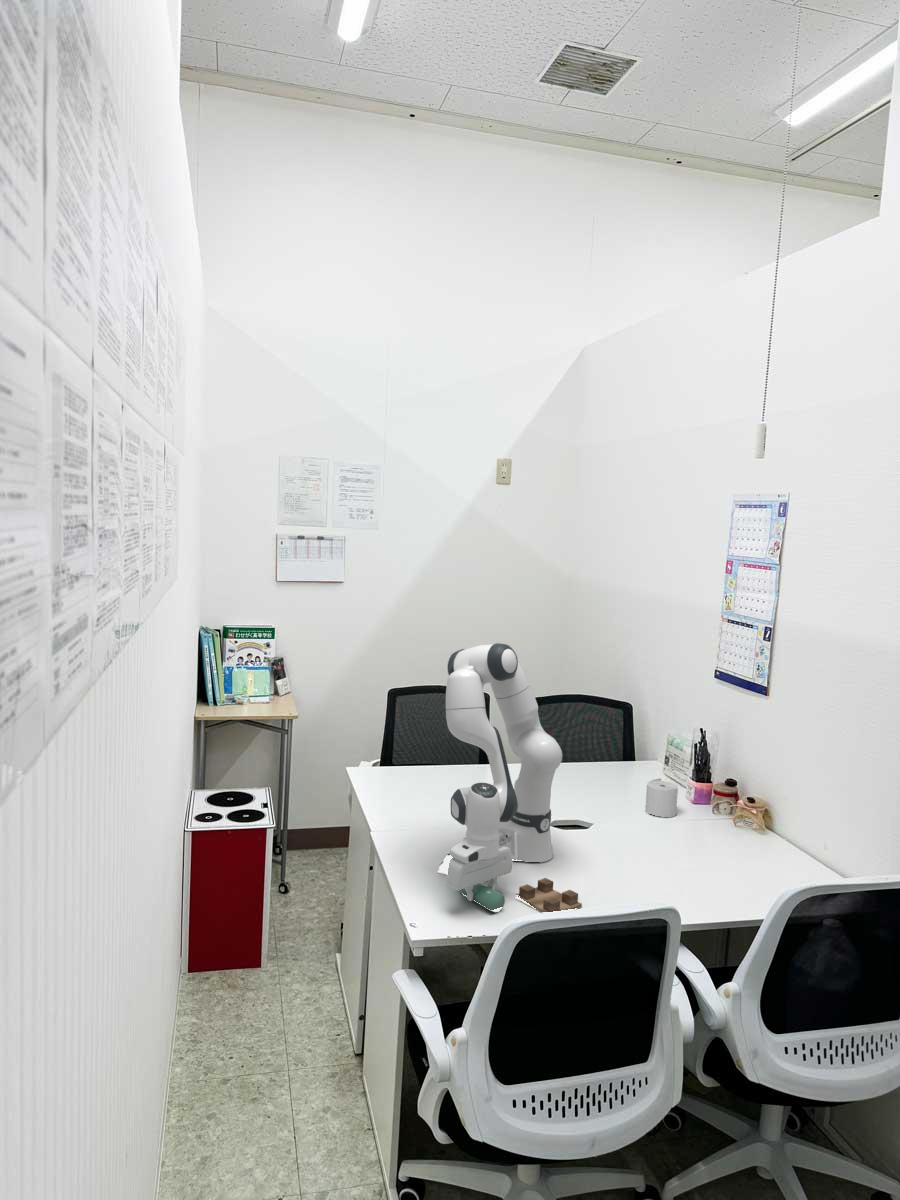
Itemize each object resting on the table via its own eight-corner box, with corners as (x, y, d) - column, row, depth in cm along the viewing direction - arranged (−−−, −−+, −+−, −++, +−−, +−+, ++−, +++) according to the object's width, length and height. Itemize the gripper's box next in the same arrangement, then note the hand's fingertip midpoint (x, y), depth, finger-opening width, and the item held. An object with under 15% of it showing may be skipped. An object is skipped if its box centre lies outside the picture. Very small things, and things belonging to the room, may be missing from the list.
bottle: (504, 910, 219) (505, 891, 218) (490, 915, 215) (490, 897, 215) (466, 888, 230) (466, 871, 230) (452, 893, 227) (452, 876, 226)
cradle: (514, 898, 225) (515, 886, 225) (543, 888, 232) (544, 876, 232) (552, 918, 215) (553, 905, 214) (581, 907, 222) (582, 894, 221)
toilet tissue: (658, 819, 289) (659, 791, 288) (636, 808, 300) (638, 780, 299) (682, 816, 294) (684, 788, 293) (660, 804, 305) (662, 778, 304)
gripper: (502, 833, 230) (500, 882, 231) (445, 851, 217) (443, 902, 218) (518, 841, 225) (516, 890, 226) (460, 859, 212) (458, 911, 213)
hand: (480, 896), depth 222 cm, fingers closed on bottle, 5 cm apart
